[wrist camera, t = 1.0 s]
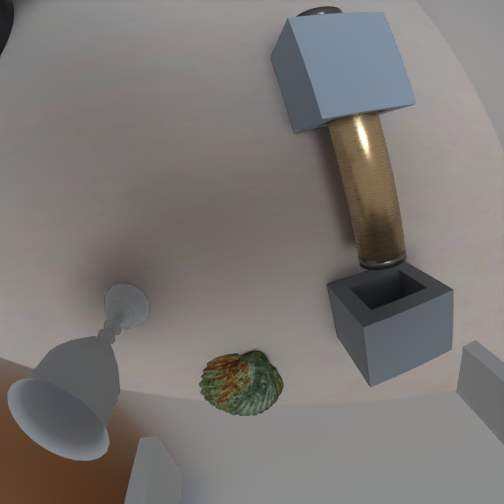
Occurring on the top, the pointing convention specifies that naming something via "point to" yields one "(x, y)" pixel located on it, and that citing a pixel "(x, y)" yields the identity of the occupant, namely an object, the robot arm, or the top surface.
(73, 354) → the chalice
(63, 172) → the top surface
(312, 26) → the blue-grey cube-like block
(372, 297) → the socket
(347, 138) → the slip tube
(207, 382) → the seashell
